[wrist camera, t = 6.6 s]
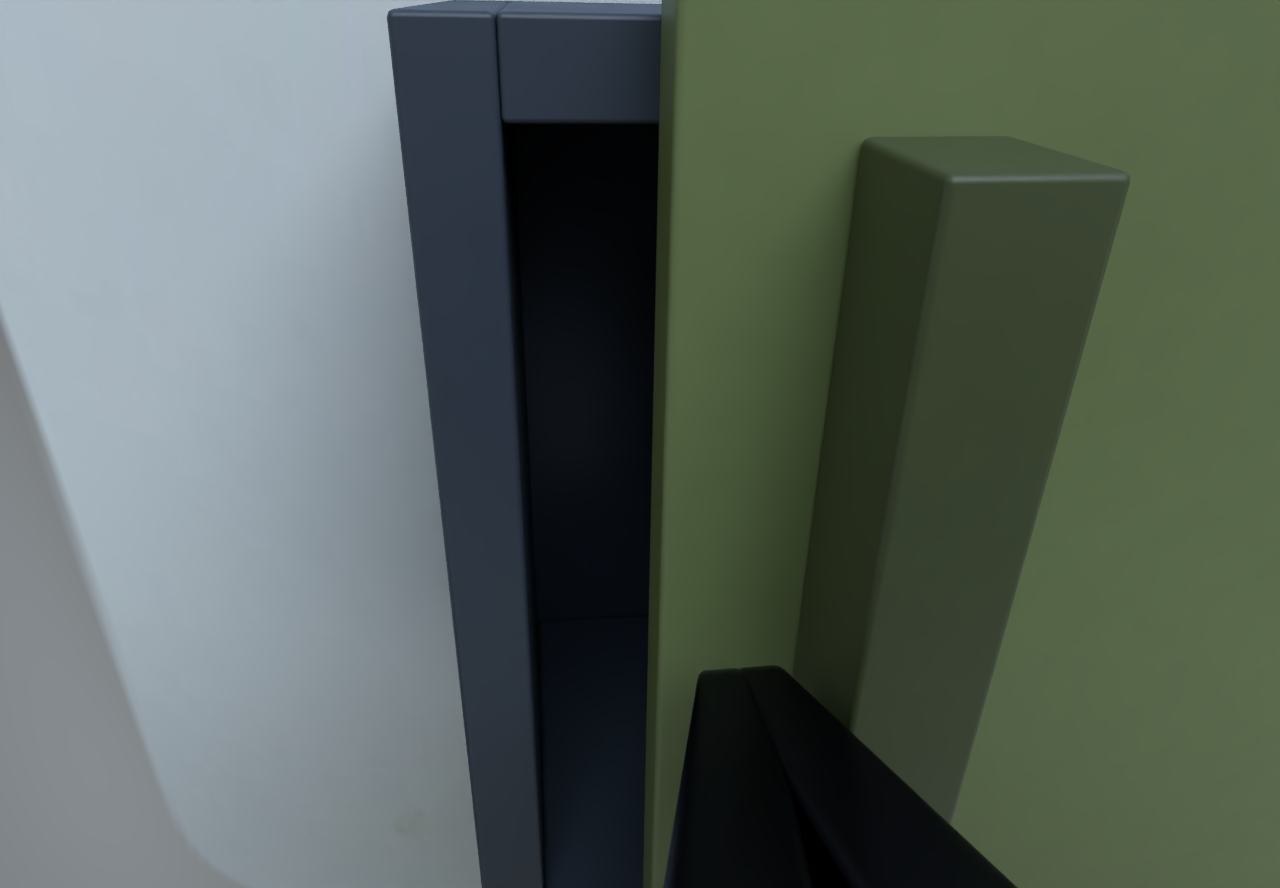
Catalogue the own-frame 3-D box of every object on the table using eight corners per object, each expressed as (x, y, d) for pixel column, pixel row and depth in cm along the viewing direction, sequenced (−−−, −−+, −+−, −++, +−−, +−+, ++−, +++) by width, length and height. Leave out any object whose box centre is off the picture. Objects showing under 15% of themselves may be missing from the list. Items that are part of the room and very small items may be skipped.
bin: (499, 636, 17) (488, 951, 12) (451, -1, 12) (384, 9, 6) (1112, 595, 19) (1365, 855, 13) (1318, 17, 13) (1898, 37, 8)
